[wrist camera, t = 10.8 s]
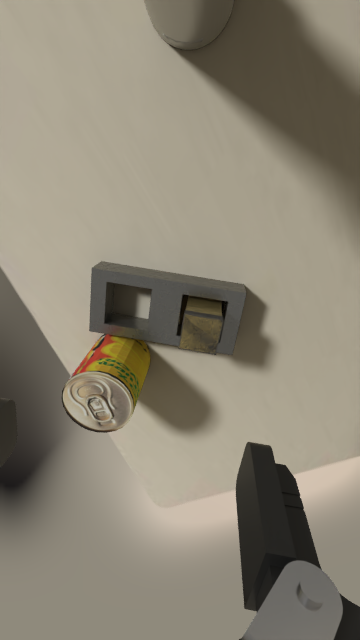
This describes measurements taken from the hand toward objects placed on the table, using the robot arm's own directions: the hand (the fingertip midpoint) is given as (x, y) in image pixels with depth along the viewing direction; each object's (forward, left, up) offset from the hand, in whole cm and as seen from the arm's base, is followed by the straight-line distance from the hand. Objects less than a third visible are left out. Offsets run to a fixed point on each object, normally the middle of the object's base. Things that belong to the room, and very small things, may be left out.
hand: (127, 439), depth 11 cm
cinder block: (+8, -2, -36) cm, 37 cm away
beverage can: (+18, -8, -36) cm, 41 cm away
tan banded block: (+8, +3, -36) cm, 37 cm away
